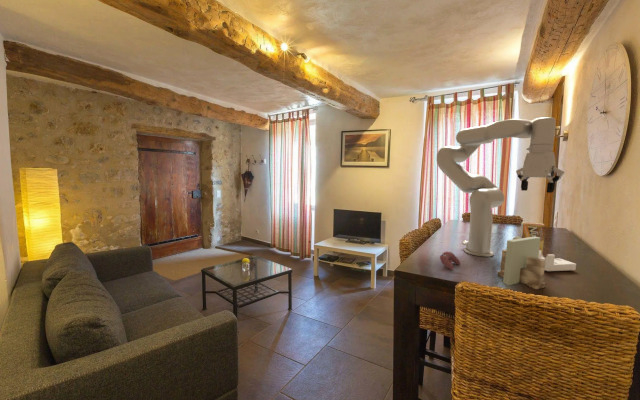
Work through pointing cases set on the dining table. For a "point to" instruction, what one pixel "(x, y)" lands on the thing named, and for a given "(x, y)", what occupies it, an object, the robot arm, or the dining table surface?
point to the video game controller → (449, 259)
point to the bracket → (556, 263)
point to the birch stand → (528, 271)
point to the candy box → (533, 232)
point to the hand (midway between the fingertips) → (536, 191)
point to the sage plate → (519, 257)
